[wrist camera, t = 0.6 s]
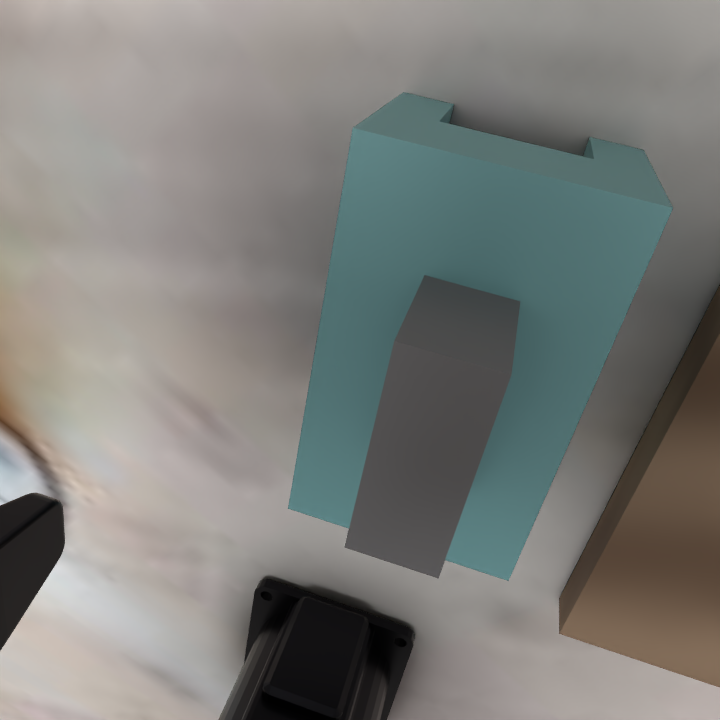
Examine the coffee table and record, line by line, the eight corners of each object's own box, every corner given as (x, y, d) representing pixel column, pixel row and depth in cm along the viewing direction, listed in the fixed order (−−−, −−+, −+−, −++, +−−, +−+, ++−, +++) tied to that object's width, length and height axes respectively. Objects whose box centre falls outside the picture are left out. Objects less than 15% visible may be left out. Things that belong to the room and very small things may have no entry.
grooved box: (518, 463, 21) (499, 683, 15) (339, 408, 22) (243, 595, 15) (643, 149, 16) (703, 268, 9) (404, 92, 17) (301, 164, 10)
